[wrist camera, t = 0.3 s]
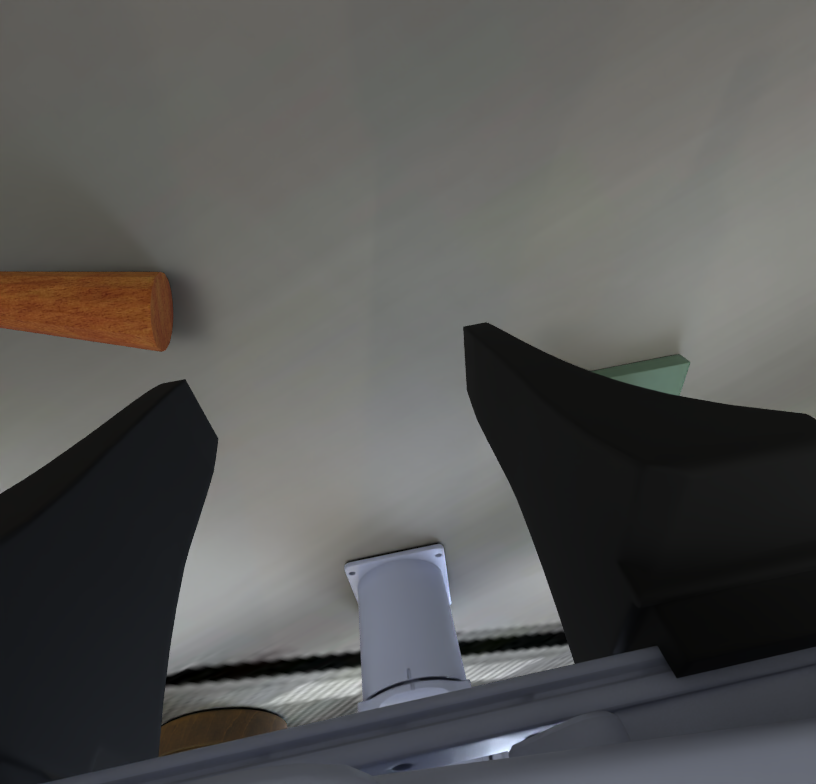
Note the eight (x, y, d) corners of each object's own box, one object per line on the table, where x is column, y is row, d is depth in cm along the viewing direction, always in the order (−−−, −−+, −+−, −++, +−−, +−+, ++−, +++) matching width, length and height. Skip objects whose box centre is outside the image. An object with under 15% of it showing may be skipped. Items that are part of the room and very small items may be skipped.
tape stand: (644, 466, 31) (696, 527, 26) (516, 492, 30) (547, 559, 26) (679, 353, 25) (753, 408, 20) (520, 384, 25) (561, 447, 20)
